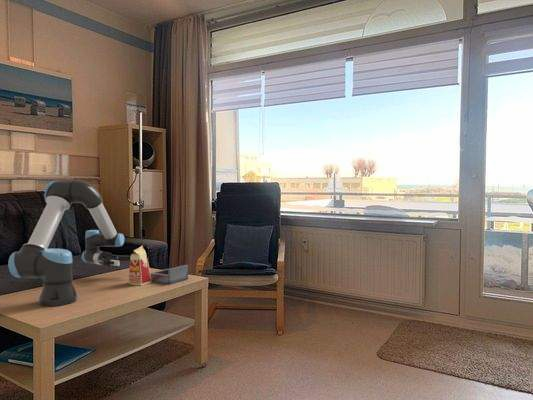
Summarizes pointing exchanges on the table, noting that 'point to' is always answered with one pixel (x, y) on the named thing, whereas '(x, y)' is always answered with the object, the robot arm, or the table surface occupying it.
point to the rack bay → (170, 275)
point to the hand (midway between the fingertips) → (129, 261)
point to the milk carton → (139, 268)
